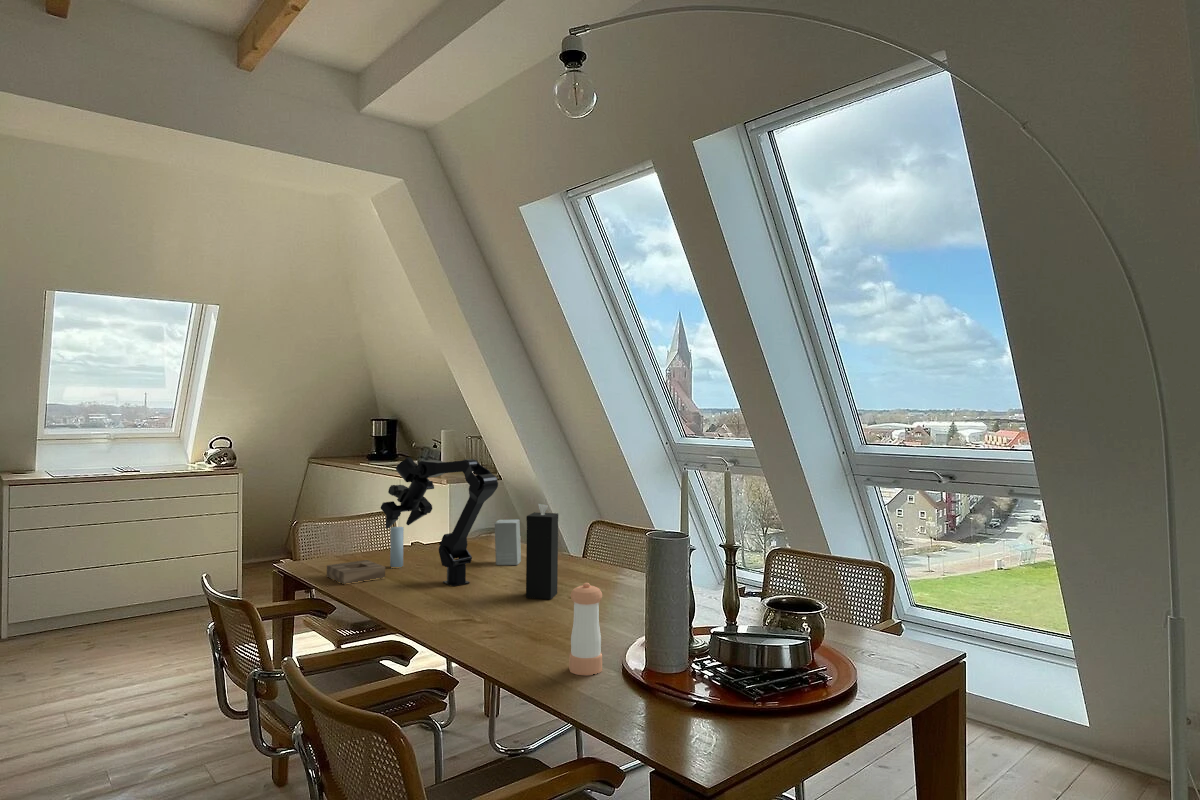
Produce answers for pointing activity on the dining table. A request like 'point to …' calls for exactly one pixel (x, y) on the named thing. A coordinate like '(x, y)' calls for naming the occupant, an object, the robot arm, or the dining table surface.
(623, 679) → the dining table surface
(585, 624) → the salt shaker
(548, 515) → the tissue box
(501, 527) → the skincare box
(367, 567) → the socket block
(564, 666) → the dining table surface
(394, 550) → the peg
